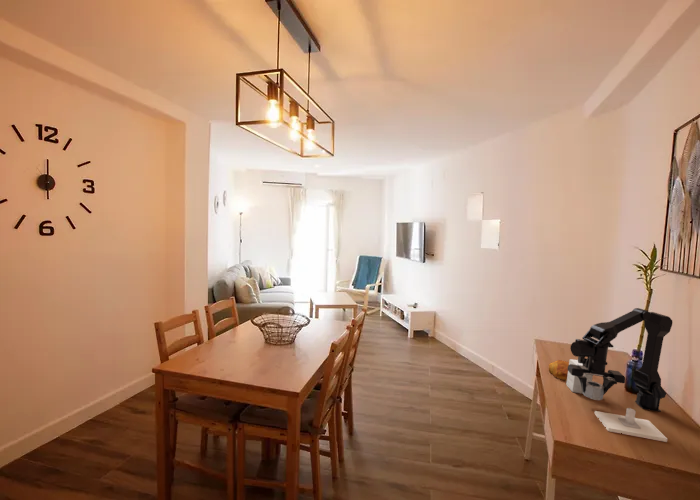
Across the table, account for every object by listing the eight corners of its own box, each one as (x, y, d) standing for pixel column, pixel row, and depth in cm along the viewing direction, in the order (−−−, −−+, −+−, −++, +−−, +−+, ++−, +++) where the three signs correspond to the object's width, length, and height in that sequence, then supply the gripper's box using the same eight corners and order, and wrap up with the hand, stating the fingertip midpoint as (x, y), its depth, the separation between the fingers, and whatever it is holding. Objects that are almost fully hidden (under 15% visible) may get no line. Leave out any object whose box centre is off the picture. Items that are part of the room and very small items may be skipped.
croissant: (551, 371, 184) (550, 356, 184) (587, 377, 174) (586, 361, 175) (545, 379, 173) (544, 363, 173) (583, 386, 163) (582, 369, 163)
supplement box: (590, 395, 156) (594, 367, 155) (572, 392, 158) (575, 364, 156) (583, 387, 163) (587, 360, 162) (565, 384, 165) (569, 358, 163)
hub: (598, 393, 148) (599, 382, 147) (604, 401, 142) (606, 389, 141) (580, 390, 149) (582, 379, 149) (586, 398, 143) (588, 386, 143)
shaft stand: (647, 423, 136) (650, 406, 135) (667, 442, 124) (670, 423, 124) (594, 413, 140) (596, 397, 140) (608, 431, 129) (610, 413, 128)
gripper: (615, 353, 149) (609, 388, 151) (565, 346, 154) (561, 380, 155) (628, 363, 139) (622, 401, 140) (574, 355, 143) (569, 392, 145)
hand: (592, 393), depth 145 cm, fingers closed on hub, 6 cm apart
